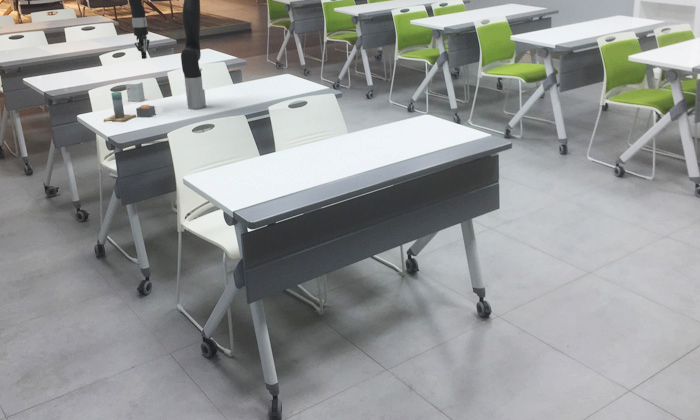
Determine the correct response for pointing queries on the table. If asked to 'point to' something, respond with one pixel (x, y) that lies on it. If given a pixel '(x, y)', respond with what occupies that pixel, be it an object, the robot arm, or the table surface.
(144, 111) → the button housing
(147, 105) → the button
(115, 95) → the marker
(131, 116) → the kraft pad
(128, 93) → the small box
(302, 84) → the table surface
